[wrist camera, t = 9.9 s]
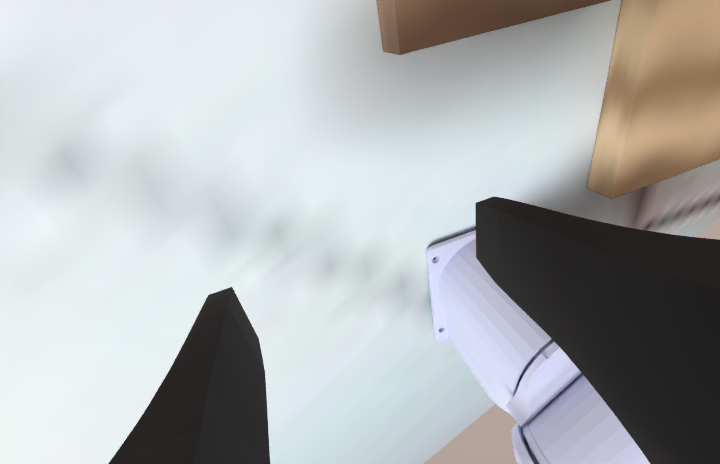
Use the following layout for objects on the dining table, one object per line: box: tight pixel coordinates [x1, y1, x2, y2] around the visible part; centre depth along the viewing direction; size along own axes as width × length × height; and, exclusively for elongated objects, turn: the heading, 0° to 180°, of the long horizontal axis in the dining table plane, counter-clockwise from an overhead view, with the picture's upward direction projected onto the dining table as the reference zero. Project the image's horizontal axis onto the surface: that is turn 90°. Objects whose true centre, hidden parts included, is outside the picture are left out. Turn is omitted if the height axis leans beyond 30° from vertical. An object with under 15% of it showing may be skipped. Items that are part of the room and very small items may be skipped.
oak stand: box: [587, 0, 720, 199], centre depth 23 cm, size 12×12×2 cm
